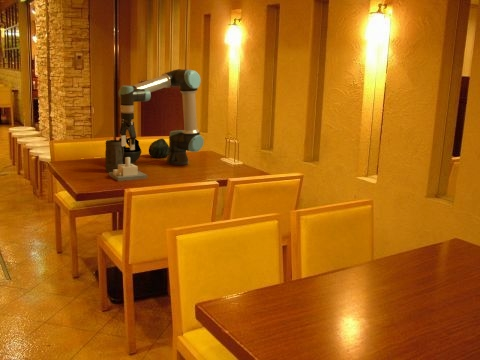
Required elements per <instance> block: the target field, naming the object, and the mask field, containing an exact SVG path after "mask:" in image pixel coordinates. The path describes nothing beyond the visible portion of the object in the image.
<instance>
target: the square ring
mask: <svg viewBox="0 0 480 360" xmlns="http://www.w3.org/2000/svg"><path fill="white" fill-rule="evenodd" d="M138 167H139V166H138V165H135V164H134V163H133V164H130V166H129V167H125V164H122V165H118V169H114V170H113V175H119V172H121V175H123V176H128V175H138V171H139V170H138V169H139V168H138Z"/></svg>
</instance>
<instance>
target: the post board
mask: <svg viewBox="0 0 480 360" xmlns="http://www.w3.org/2000/svg"><path fill="white" fill-rule="evenodd" d="M129 166H130V157H125V167H129ZM108 176H109V177H111V178H112V179H114V180H115V181H117V182H123V181H124V182H126V181H133V180H134V181H135V180H142V179H143V180H145V179H147V178H148V174H146V173H144V172H141V171H140V170H138V175H128V176H123V175H121V172H119V175H113V172H109V173H108ZM125 180H126V181H125Z"/></svg>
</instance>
